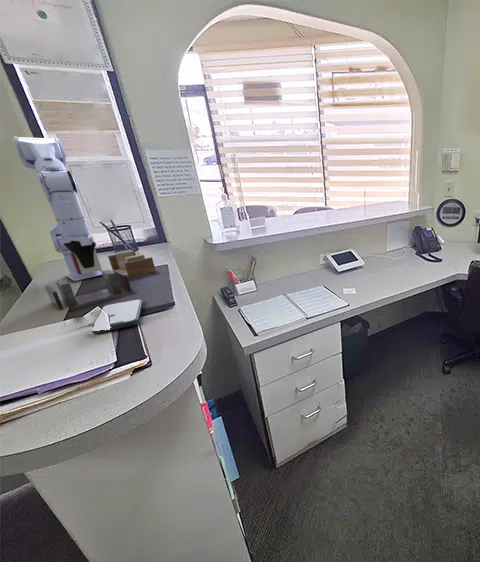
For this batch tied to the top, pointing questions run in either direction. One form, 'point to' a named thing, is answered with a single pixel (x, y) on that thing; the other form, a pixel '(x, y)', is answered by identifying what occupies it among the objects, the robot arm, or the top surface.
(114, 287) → the grey book rack
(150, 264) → the wooden desk organizer
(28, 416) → the top surface
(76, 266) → the red boxy piece
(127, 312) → the phone case
